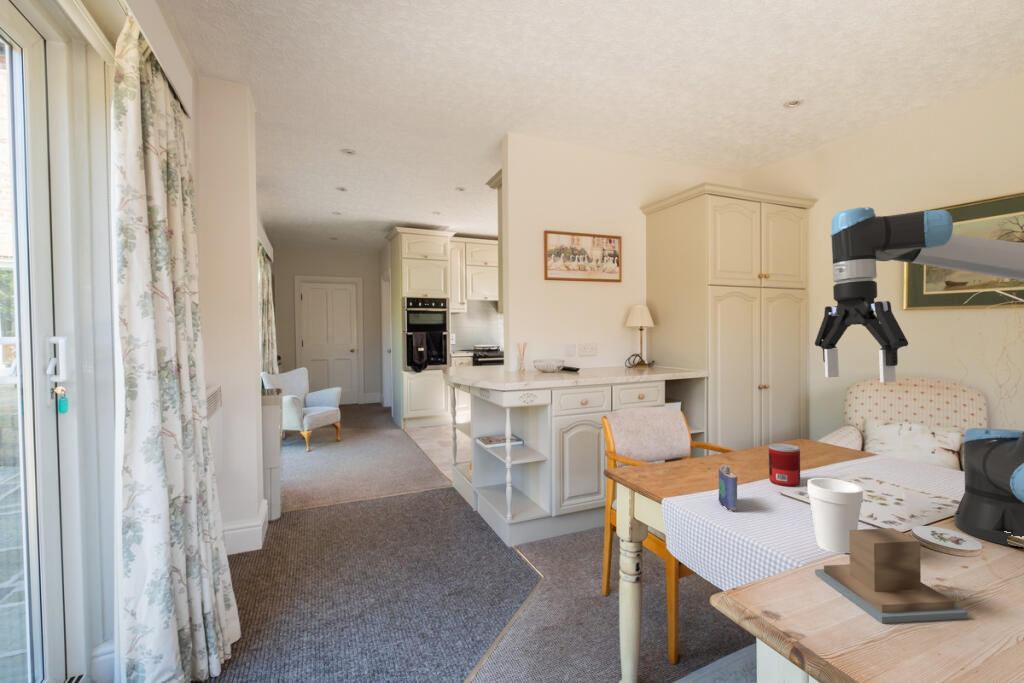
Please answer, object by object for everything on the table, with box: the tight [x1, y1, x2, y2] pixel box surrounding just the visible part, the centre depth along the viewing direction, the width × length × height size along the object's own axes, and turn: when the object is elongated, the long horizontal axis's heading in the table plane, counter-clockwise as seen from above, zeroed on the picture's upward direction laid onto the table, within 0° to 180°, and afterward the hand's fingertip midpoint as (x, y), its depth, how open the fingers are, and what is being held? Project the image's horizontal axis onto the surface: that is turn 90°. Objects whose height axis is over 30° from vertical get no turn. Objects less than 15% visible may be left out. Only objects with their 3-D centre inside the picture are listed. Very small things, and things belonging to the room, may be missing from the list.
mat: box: [814, 568, 969, 624], centre depth 76 cm, size 14×14×1 cm
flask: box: [718, 464, 739, 512], centre depth 116 cm, size 9×3×11 cm, turn 172°
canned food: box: [768, 443, 801, 488], centre depth 133 cm, size 8×8×11 cm
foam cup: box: [806, 477, 864, 555], centre depth 93 cm, size 10×9×13 cm
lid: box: [823, 527, 955, 613], centre depth 76 cm, size 12×12×9 cm
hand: (857, 379), depth 96 cm, fingers open, 13 cm apart
